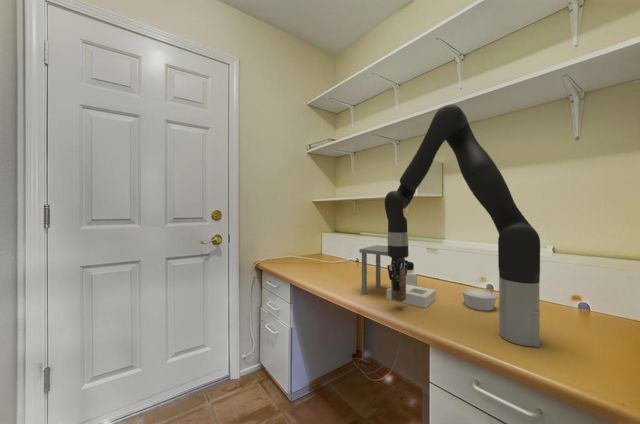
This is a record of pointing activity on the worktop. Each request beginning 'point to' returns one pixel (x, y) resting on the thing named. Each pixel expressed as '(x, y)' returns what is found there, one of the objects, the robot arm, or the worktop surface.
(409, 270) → the medicine bottle
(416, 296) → the socket block
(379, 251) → the grey miniature table
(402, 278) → the peg
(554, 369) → the worktop surface
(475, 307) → the ramekin
